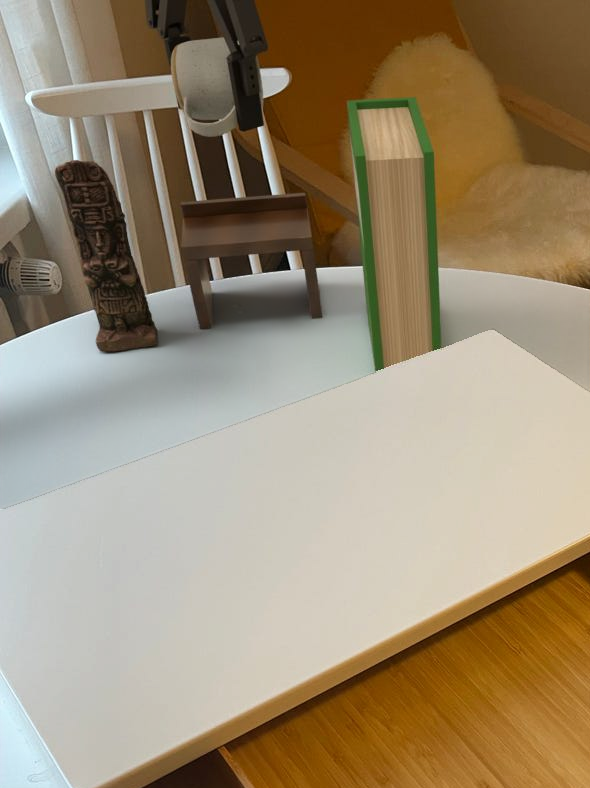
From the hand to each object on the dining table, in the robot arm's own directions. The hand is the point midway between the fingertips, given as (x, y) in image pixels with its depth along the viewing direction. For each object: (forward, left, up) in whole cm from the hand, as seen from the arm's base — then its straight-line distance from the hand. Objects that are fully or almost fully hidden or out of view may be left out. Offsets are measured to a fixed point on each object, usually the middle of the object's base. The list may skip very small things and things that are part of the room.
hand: (220, 117), depth 102 cm
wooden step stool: (-1, +2, -22) cm, 23 cm away
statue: (-6, -14, -23) cm, 27 cm away
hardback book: (+20, +7, -23) cm, 31 cm away
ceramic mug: (+1, 0, -1) cm, 1 cm away
